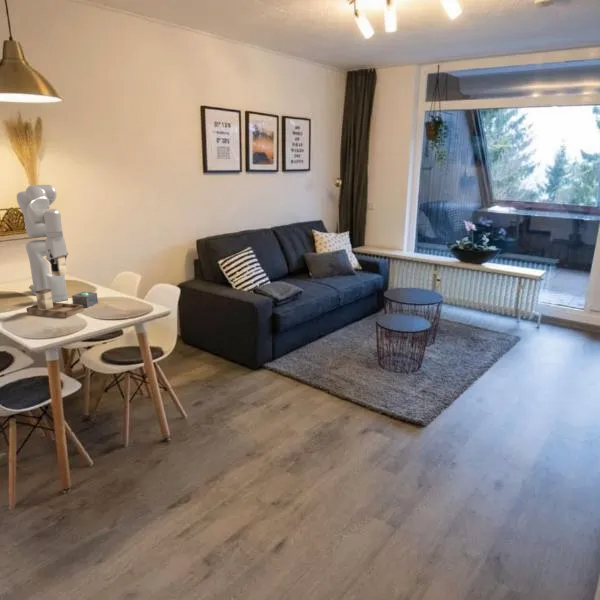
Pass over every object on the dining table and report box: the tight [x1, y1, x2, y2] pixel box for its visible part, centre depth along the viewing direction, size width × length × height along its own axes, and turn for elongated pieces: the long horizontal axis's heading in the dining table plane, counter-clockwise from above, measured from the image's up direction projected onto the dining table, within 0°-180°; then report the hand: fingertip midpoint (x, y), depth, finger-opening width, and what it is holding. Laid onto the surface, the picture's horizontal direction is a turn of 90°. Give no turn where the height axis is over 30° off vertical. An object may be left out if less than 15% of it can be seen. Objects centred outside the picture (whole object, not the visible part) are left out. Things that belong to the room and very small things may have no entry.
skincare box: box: [46, 272, 69, 303], centre depth 272 cm, size 8×7×16 cm
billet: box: [50, 255, 68, 276], centre depth 249 cm, size 5×5×10 cm
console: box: [71, 291, 99, 309], centre depth 266 cm, size 9×9×6 cm
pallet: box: [26, 302, 85, 319], centre depth 253 cm, size 24×13×3 cm, turn 76°
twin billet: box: [35, 288, 53, 310], centre depth 253 cm, size 5×5×10 cm
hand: (59, 269), depth 249 cm, fingers closed on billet, 5 cm apart
